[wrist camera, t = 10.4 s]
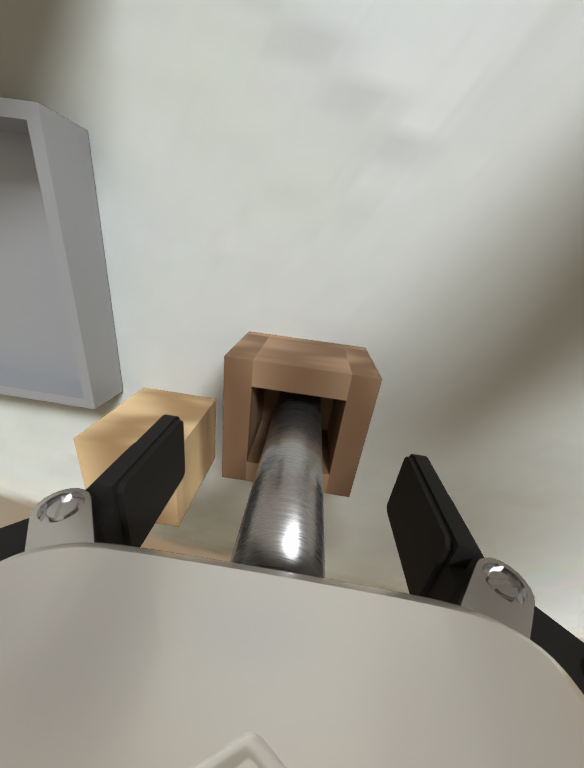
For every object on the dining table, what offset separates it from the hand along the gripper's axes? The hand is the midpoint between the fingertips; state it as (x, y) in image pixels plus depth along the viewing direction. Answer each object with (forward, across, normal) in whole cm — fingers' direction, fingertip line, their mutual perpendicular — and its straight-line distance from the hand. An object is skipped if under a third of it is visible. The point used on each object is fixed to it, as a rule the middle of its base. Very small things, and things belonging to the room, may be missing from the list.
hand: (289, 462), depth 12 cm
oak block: (+7, +8, +4) cm, 11 cm away
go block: (+7, 0, 0) cm, 7 cm away
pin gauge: (+6, 0, 0) cm, 6 cm away
